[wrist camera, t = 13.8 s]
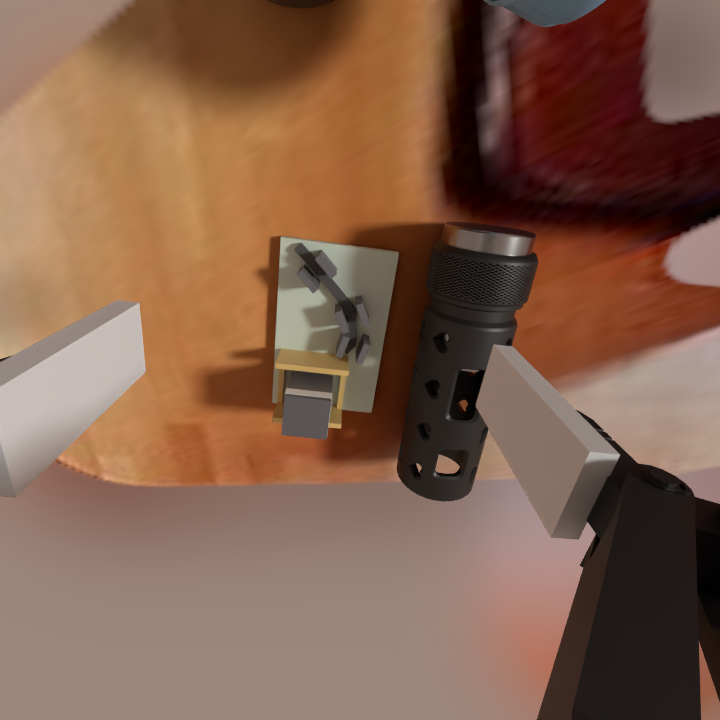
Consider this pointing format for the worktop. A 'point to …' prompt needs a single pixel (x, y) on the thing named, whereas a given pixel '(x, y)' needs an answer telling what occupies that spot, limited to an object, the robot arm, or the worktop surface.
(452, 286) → the muzzle brake
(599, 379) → the worktop surface
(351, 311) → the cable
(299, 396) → the plug
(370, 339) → the board
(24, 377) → the robot arm
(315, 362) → the end holder
